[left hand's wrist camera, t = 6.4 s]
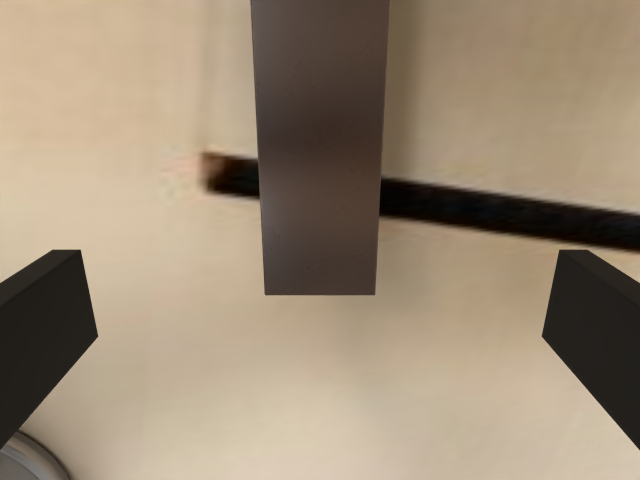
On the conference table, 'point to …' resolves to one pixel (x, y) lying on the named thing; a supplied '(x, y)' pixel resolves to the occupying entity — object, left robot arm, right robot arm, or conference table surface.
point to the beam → (320, 141)
